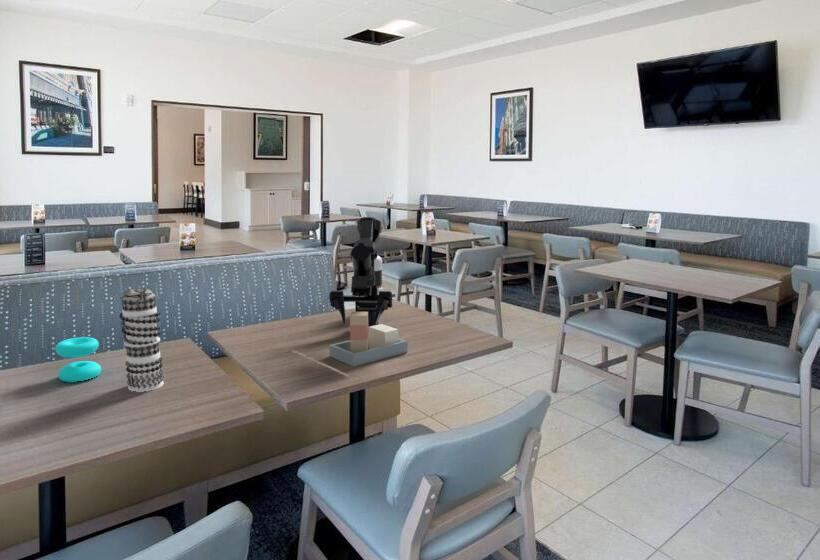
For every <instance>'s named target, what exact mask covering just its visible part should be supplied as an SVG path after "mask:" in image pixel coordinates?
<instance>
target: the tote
mask: <svg viewBox="0 0 820 560" xmlns="http://www.w3.org/2000/svg"><path fill="white" fill-rule="evenodd" d="M328 350H329V357H331V358H333V359H335V360H337V361H340V362H342V363H344V364H347V365H348V366H351V367H358V366H361V365H365V364H369V363H372V362H375V361H376V362H377V361H379V360H383V359H387V358H388V359H389V358H391V357H394V356H398V355H402V354H405V353H408V340H406V339H405V340H404V339H403V338H399V337H398V342H397V343H393V344H389V345H385V346H381V347H377V348H373V349H369V335H368V350H365V351H361V352H357V353H353V352H350V340H345V341H340V342H336V343H332V344H329V349H328Z"/></svg>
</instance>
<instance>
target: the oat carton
mask: <svg viewBox="0 0 820 560" xmlns="http://www.w3.org/2000/svg"><path fill="white" fill-rule="evenodd" d="M368 336H369V327H368V312H356V311H351V313H350V315H349V339H350V352H353V353H357V352H361V351H365V350H368Z"/></svg>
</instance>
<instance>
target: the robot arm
mask: <svg viewBox="0 0 820 560" xmlns="http://www.w3.org/2000/svg"><path fill="white" fill-rule="evenodd" d="M356 222H357V225H356V230H357V233H358V234H359V239H358V240H357V241H355V242H354V246H353V248H351V250H350V256H349V257H350V260H351V262H352V267H353V275H352V276H351V283H350V284H351V285H350V292H351V294H344V290H331V291H330V292H329V294H328V295H329V296H328V298H329V299H328V300H329V304H330V306H331V307H332V308H334V309H335V310H338V312H339V313H340V316H341V320H342V322H343V323H342V324H343V325H346V308H345V307H346V306H345V303H346V302H347V303H350V302H352V303H353V302H354V303H355V304H354V306H355V312H368V327H370V326H375V325H379V320H380V318H381V316H382V315H383V313H384V311H387V310H388V309H391V308H393V291H391V290H382V291H379V295H378V289H377V287H376V285H375V275H374V265H375V260H376V258H377V257H378V256H379V252H378V250H377V248H376V245H377V243H379V240H380V235H381V234H382V230H383V229H382V226H383V225H382V221H381V220H379V219H376V217H373V216H371V217H370V216H363V217H360V219H358V220H357V221H356ZM376 306H377V307H376Z"/></svg>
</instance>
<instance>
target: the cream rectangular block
mask: <svg viewBox="0 0 820 560" xmlns="http://www.w3.org/2000/svg"><path fill="white" fill-rule="evenodd" d="M368 336H369V349H373V348H377V347H381V346H385V345H389V344H393V343H397V342H398V338H399V329H398V328H395V327H392V326H389V325H385V324H383V323H380V324H379V323H378V325H375V326H370V327H369V335H368Z"/></svg>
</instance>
